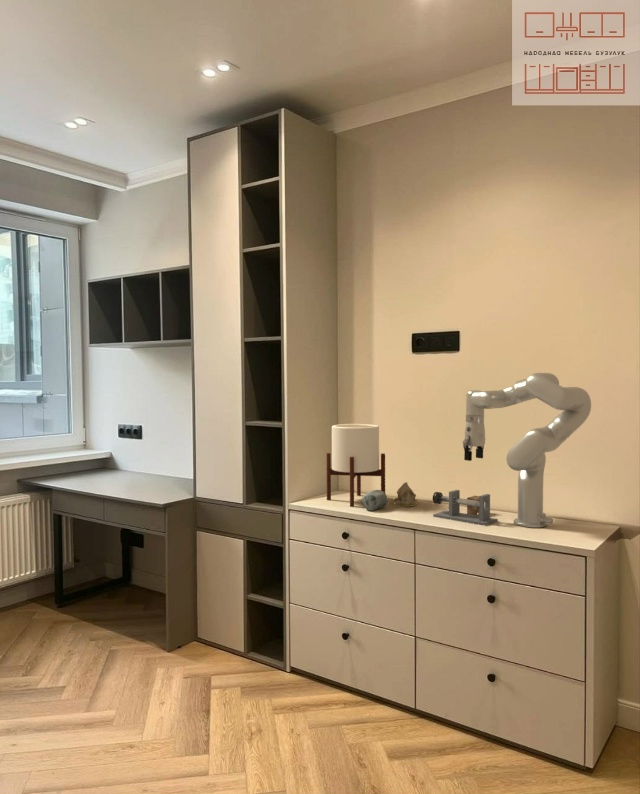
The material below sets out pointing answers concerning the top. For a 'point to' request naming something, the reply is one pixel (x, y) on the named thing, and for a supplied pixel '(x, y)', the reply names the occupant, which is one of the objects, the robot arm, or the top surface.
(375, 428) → the plant pot with stand
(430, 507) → the top surface
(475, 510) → the block
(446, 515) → the grey bearing stand
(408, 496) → the ceramic model
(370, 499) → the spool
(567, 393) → the robot arm
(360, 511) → the top surface
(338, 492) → the top surface
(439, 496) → the shaft
